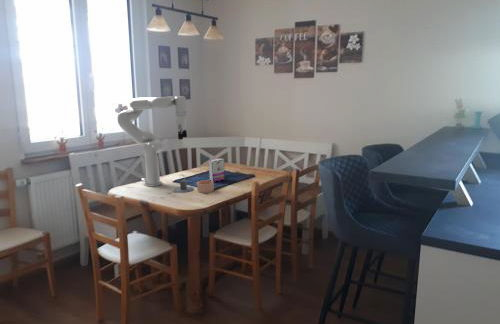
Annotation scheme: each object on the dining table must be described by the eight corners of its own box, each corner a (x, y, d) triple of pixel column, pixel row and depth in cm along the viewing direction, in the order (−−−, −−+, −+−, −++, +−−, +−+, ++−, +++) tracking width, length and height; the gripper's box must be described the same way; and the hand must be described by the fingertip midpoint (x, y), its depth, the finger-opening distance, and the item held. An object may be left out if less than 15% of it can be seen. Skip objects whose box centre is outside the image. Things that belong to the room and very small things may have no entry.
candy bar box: (221, 178, 306) (220, 158, 302) (225, 180, 302) (224, 159, 298) (209, 181, 299) (208, 160, 295) (212, 182, 295) (212, 161, 291)
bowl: (195, 192, 270) (195, 184, 269) (200, 188, 281) (199, 180, 279) (211, 193, 268) (211, 184, 267) (215, 188, 279) (214, 180, 278)
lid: (170, 192, 272) (170, 183, 271) (177, 187, 286) (176, 178, 284) (190, 193, 270) (190, 183, 269) (196, 187, 284) (195, 178, 282)
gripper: (179, 113, 286) (181, 136, 290) (172, 115, 269) (173, 140, 273) (189, 112, 285) (191, 136, 289) (182, 115, 268) (184, 140, 272)
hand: (182, 138), depth 281 cm, fingers open, 9 cm apart
